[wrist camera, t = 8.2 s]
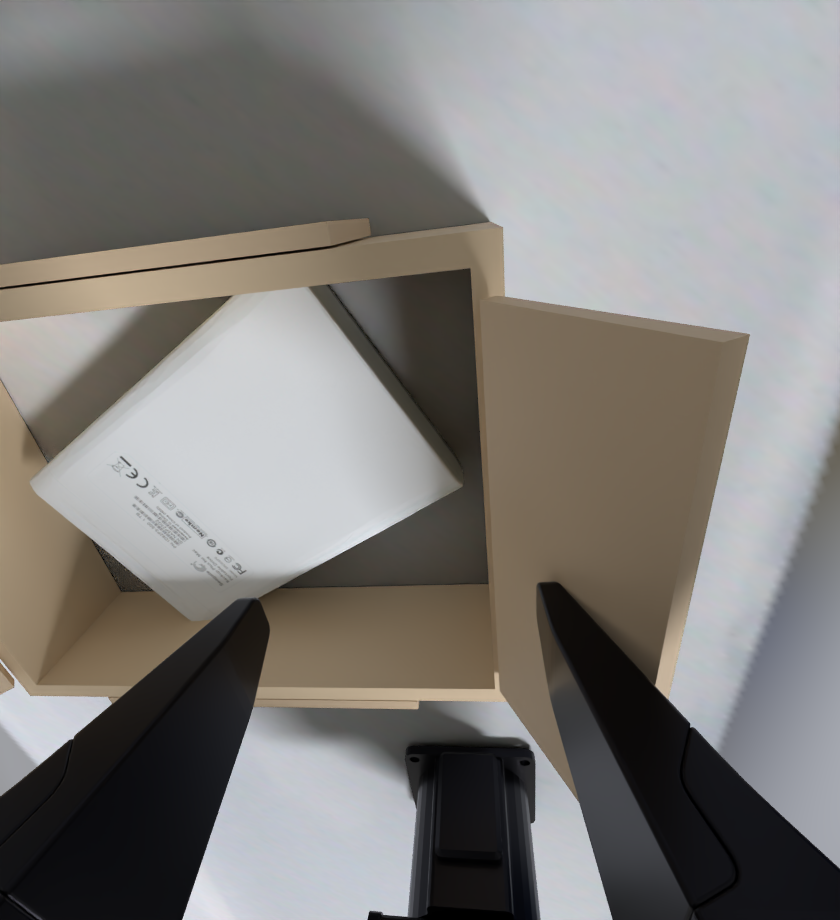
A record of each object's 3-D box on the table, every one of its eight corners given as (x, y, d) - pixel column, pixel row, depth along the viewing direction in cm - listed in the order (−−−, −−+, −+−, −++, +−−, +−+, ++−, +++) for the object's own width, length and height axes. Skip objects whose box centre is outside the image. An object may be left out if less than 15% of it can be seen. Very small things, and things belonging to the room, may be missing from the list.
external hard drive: (464, 464, 15) (220, 603, 19) (300, 245, 12) (56, 462, 17) (464, 490, 14) (200, 634, 18) (279, 248, 11) (18, 485, 15)
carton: (505, 603, 18) (515, 710, 14) (119, 609, 21) (36, 703, 17) (490, 202, 12) (501, 197, 8) (-77, 277, 14) (-290, 303, 10)
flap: (479, 299, 8) (498, 295, 8) (499, 690, 13) (510, 684, 13) (723, 342, 4) (750, 333, 5) (620, 861, 10) (634, 850, 10)
